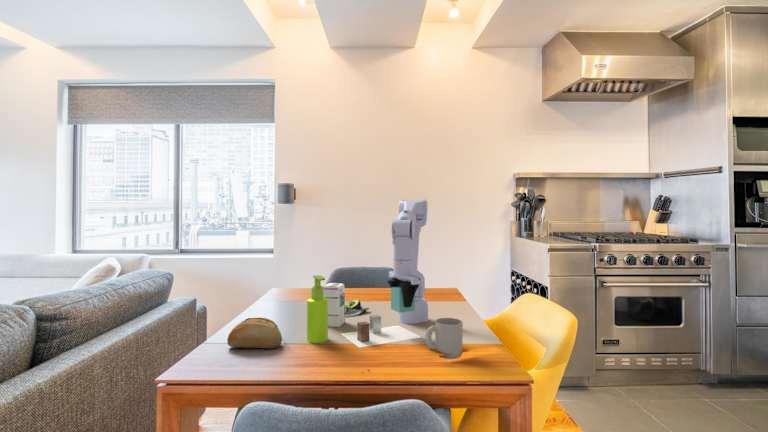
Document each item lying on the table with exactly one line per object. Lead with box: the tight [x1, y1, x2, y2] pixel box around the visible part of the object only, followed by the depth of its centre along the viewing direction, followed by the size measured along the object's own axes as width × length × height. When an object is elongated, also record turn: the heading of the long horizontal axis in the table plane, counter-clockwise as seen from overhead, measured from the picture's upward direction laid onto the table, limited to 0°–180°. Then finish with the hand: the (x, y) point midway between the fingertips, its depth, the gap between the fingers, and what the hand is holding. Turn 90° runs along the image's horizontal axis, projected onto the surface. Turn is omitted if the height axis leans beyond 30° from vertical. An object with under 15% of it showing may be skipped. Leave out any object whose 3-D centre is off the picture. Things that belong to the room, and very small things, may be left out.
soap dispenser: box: [306, 274, 329, 344], centre depth 116 cm, size 6×7×20 cm
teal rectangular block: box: [390, 286, 415, 314], centre depth 122 cm, size 5×5×7 cm
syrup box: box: [322, 282, 346, 328], centre depth 133 cm, size 6×6×14 cm
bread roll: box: [227, 317, 283, 349], centre depth 115 cm, size 10×15×8 cm, turn 95°
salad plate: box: [345, 299, 370, 319], centre depth 152 cm, size 19×18×5 cm
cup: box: [424, 317, 464, 360], centre depth 109 cm, size 7×10×9 cm
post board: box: [340, 325, 422, 349], centre depth 121 cm, size 20×14×2 cm
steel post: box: [369, 314, 382, 334], centre depth 124 cm, size 3×3×5 cm
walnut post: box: [356, 321, 370, 342], centre depth 116 cm, size 3×3×5 cm
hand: (402, 304), depth 122 cm, fingers closed on teal rectangular block, 5 cm apart
